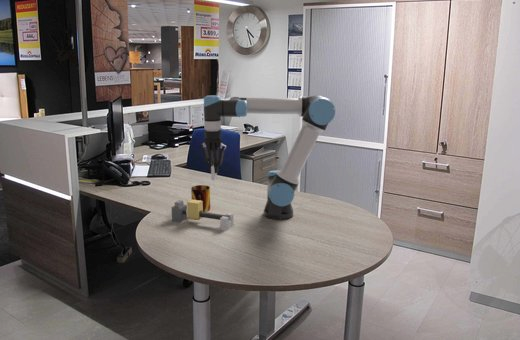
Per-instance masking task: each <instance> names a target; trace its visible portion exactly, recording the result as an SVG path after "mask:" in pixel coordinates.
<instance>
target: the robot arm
mask: <svg viewBox="0 0 520 340" xmlns="http://www.w3.org/2000/svg"><path fill="white" fill-rule="evenodd" d="M248 114H258V115H261V114H265V115H298V117H300V118H301V117H302V118H301V121H302V126H301V129H300V131H299V133H298V135H297V137H296V138H295V141H294V143H293V145H292V147H291V149H290V151H289V153H288V155H287V158H286V159H285V162H284V164H283V166H282V168H281V170H279V169H277V170H275V169H274V170H270V171H268V172H267V176H266V177H267V187H266V188H267V192H266V193H267V194H266V195H267V197H266V198H267V199H266V203H265V205H264V208H263V215H264V217H265V218H267V219H270V220H271V219H272V220H288V219H291V218H292V217H293V216H294V208H293V205H292V202H293V201H294V199H295V192H296V190H297V188H298V186H299V183H300V181H299V177H300V175H301V172H302V170H303V168H304V166H305V164H306V162H307V160H308V158H309V156H310V154H311V152H312V149H314V146H315V144H316V142H317V139H319V136H320V134H321V133H323V132H326V129H327V127H328V126H329V124H330V123H331V122H332V121H333V119H334V118H335V116H336V106H335V104H334V103H333V102H332V100H331V99H330V98H328V97H325V96H324V95H319V94H318V95H309V96H308V95H307V96H306V95H305V96H300V97H298V98H295V97H294V98H290V97H287V98H284V97H283V98H282V97H280V98H279V97H239V96H232V97H230V98H229V99H221V96H220V95H218V94H215V95H213V94H211V95H206V96H204V97H203V119H204V122H203V124H204V125H203V126H204V141H203V143H201V144H199V147H200V149H201V150H202V155H203V158H204V164H205V165H207V166H208V167H209V173H211V176H210V177H211V181H216V180H217V179H218V173H219V166H222V164H223V160H224V156H225V153H226V152H225V151H226V150H227V145H226V144H224V143H223V141H222V130H221V129H222V122H221V121H222V119H221V118H223V117H226V118H229V117H230V118H231V117H235V118H237V117H238V118H241V117H243V118H244V117H246V116H247V115H248ZM219 149H220V150H219Z"/></svg>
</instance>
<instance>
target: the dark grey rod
mask: <svg viewBox="0 0 520 340" xmlns="http://www.w3.org/2000/svg"><path fill="white" fill-rule="evenodd" d="M183 214H184V215H187V218H188V214H187V209H184V210H183ZM222 216H224V217H228V220H229V216H227V215H226V214H221V213H213V212H208V211H207V212H201V211H200V212H199V217H203V219H204V218H205V219H212V220H217V221H220V218H222Z"/></svg>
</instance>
